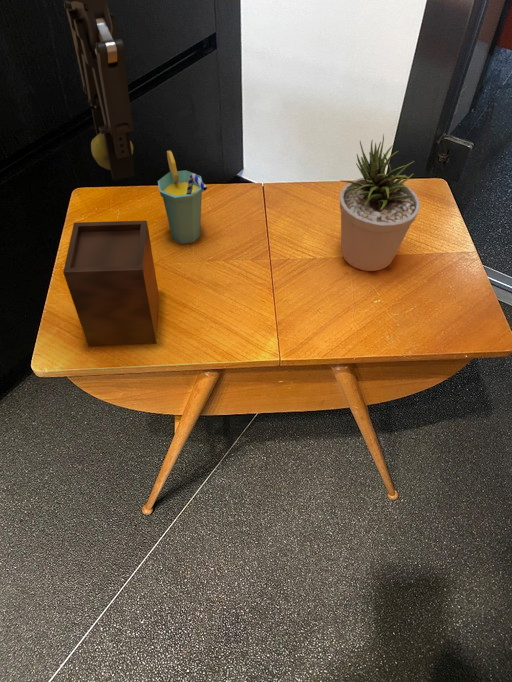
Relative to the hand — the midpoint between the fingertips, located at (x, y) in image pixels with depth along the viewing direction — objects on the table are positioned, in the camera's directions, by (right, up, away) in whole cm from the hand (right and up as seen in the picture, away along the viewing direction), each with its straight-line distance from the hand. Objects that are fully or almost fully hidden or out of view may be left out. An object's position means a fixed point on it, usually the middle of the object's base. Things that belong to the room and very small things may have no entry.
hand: (117, 166), depth 68 cm
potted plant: (+37, -7, +27) cm, 46 cm away
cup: (+5, -3, +29) cm, 29 cm away
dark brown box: (-3, -19, +16) cm, 25 cm away
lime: (0, 0, 0) cm, 1 cm away
